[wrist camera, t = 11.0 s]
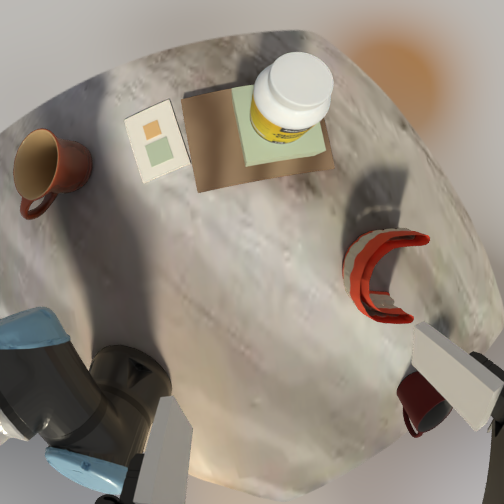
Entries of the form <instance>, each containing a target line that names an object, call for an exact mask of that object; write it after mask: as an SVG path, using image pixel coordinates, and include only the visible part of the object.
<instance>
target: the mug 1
mask: <svg viewBox="0 0 504 504" xmlns="http://www.w3.org/2000/svg"><path fill="white" fill-rule="evenodd" d="M91 171H92V157H91V154H90V152H89V150H88V149H87V148H86V147H85V146H83V145H82V144H80V143H78V142H76V141H70V140H65V139H59V138H58V137H57V136H56V135H55V134H54V133H52V132H51V131H50V130H48V129H43V128H42V129H37V130H34V131H33V132H31V133H30V134H29V135H28V136H27V137H26V138H25V139H24V140H23V142H22V143H21V145H20V147H19V149H18V151H17V154H16V157H15V161H14V169H13V175H14V182H15V186H16V189H17V191H18V193H19V194H20V195H21V196H22V201H21V206H20V213H21V215H22V216H23V217H24V218H25V219H27V220H32V219H35V218H38V217H39V216H41V215H42V214H43V213H44V212H45V211H46V210H47V209H48V208H49V206H50V205H51V204H52V202H53V201H54V200H55V198H56V197H57V195H58V194H59V193H70V192H73V191H75V190H78V189H80V188H81V187H82V186H84V185H85V183H86V182H87V181H88V179H89V177H90V174H91ZM44 196H45V198H44V200H43V201H42V203H41V204H40V205H39V206H38V207H36V208H35V209H33V210H30V211H28V210H29V207H30V205H31V204H32V203H33V202H34V201H35V200H38V199H40V198H42V197H44Z"/></svg>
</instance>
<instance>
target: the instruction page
mask: <svg viewBox="0 0 504 504" xmlns="http://www.w3.org/2000/svg"><path fill="white" fill-rule="evenodd" d="M124 122H125V126H126V129H127V133H128V136H129V140H130V143H131V147H132V150H133V153H134V156H135V160H136V163H137V166H138V169H139V172H140V175H141V178H142V181H143V184H144V183H146V182H149V181H151V180H153V179H155V178H158V177H160V176H162V175H165V174H167V173H169V172H172V171H174V170H177V169H179V168H182V167H184V166H187V165H189V164H191V163H190V160H189V157H188V154H187V151H186V148H185V145H184V142H183V139H182V136H181V133H180V130H179V127H178V124H177V121H176V118H175V115H174V112H173V109H172V106H171V103H170V100H166V101H164V102H162V103H159V104H157V105H155V106H152V107H150V108H148V109H146V110H144V111H142V112H139V113H137V114H135V115H133V116H131V117H129V118H127V119H125V120H124Z"/></svg>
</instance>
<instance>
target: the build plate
mask: <svg viewBox="0 0 504 504" xmlns="http://www.w3.org/2000/svg"><path fill="white" fill-rule="evenodd" d="M181 104H182V110H183V116H184V122H185V127H186V133H187V139H188V144H189V150H190V155H191V160H192V166H193V171H194V176H195V181H196V186H197V191H198V193H201V192H205V191H210V190H214V189H219V188H224V187H229V186H233V185H238V184H244V183H249V182H254V181H259V180H265V179H271V178H276V177H282V176H288V175H294V174H301V173H307V172H314V171H321V170H329V169H334V162H333V157H332V152H331V147H330V142H329V138H328V133H327V129H326V124H325V120H324V118H323V119H322V120H321V121H320V125H321V130H322V134H323V139H324V143H325V148H326V151H324V152H322V153H320V154H317V155H315V156H310V157H302V158H295V159H289V160H282V161H276V162H270V163H264V164H258V165H253V166H247V167H245V162H244V157H243V152H242V147H241V142H240V137H239V132H238V127H237V122H236V117H235V112H234V108H233V103H232V89H226V90H220V91H215V92H211V93H206V94H202V95H197V96H193V97H189V98H185V99H181Z"/></svg>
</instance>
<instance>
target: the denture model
mask: <svg viewBox="0 0 504 504" xmlns="http://www.w3.org/2000/svg"><path fill="white" fill-rule="evenodd" d="M429 241H430V237H429V236H428V235H425V234H422V233H419V232H416V231H411V230H409V229H407V228H397V230H396V229H384V230H376V231H369V232H367V233H365V234H363V235H361V236H360V237H358V239H357V240H356V241H355V242H354V243H353V244H352V245H351V246H350V247H349V248H348V251H347V252H346V255H345V259H344V263H343V272H342V273H343V279H344V286H345V288H346V289H345V290H346V292H347V294H348V296H349V297H350V298H351V299H352V300H353V303H354V304H355V305H356V306H357V308H358V310H359V311H361V312H362V313H363V314H365V315H366V316H368V317H369V318H371V319H373V320H375V321H377V322H382V323H392V324H405V323H411V322H413V320H414V317H413V316H412V315H409V314H407V313H405V312H404V311H403V310H402V309H401V308H397V307H396V306H394V300H393V299H392V298H391V297H390V294H389V293H388V292H379V291H370V290H369V280H370V278H371V275H372V272H373V269H374V267H375V265H376V264H377V263H378V261H379V260H380V259H381V258H382V257H383V256H384V255H385V254H387V253H388V252H389V251H391V250H392V249H394V248H399V247H407V246H422V245H426V244H428V243H429ZM382 304H383V305H382Z"/></svg>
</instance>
